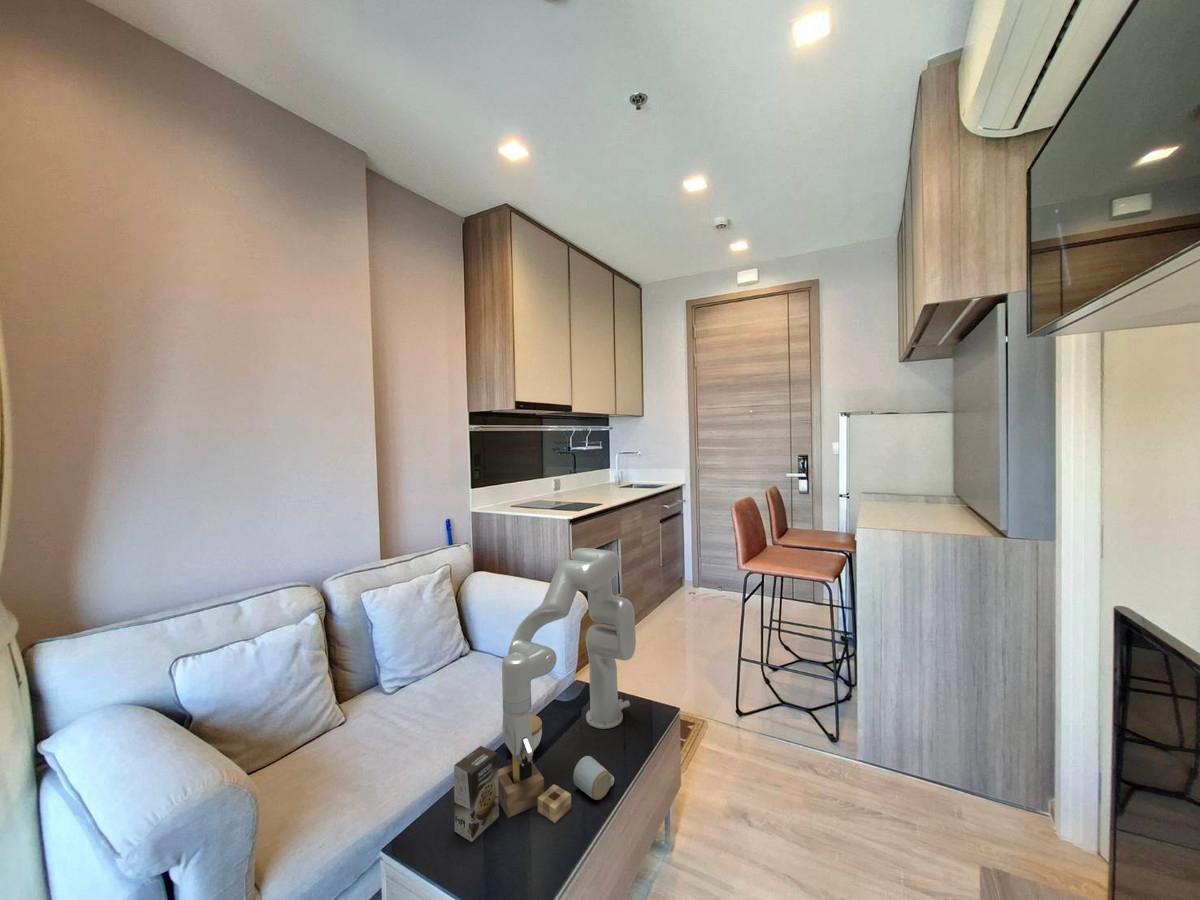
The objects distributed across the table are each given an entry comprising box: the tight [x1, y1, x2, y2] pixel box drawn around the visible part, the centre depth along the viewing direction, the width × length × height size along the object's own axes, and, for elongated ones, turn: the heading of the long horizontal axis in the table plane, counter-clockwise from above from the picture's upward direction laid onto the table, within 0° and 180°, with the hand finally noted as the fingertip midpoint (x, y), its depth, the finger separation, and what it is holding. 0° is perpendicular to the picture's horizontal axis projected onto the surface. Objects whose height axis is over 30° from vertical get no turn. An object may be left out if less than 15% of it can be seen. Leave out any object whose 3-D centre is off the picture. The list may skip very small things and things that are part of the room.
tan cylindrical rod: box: [512, 748, 526, 784], centre depth 121 cm, size 3×3×14 cm
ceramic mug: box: [572, 755, 615, 801], centre depth 123 cm, size 11×8×8 cm
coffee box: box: [453, 745, 500, 843], centre depth 112 cm, size 9×6×16 cm
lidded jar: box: [524, 714, 543, 756], centre depth 141 cm, size 11×11×9 cm
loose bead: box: [537, 784, 572, 824], centre depth 116 cm, size 6×6×4 cm
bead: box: [498, 761, 545, 819], centre depth 121 cm, size 10×10×6 cm
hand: (518, 767), depth 121 cm, fingers open, 9 cm apart
